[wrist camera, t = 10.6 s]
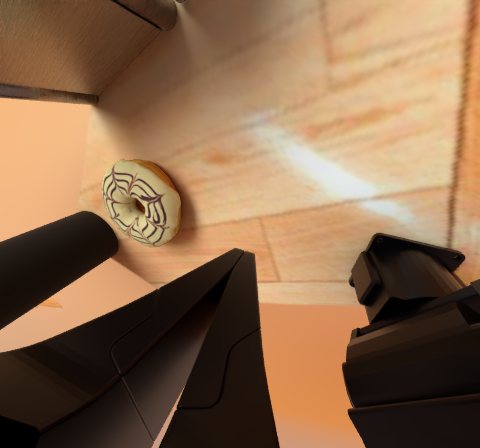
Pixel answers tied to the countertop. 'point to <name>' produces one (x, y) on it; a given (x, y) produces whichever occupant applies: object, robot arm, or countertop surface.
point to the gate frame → (73, 45)
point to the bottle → (50, 261)
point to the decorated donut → (142, 201)
